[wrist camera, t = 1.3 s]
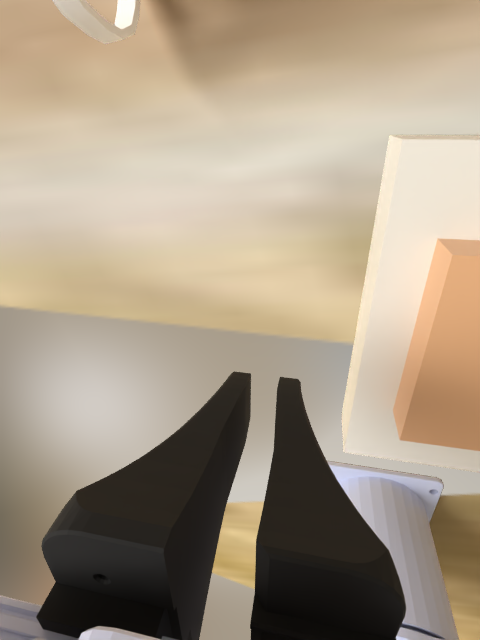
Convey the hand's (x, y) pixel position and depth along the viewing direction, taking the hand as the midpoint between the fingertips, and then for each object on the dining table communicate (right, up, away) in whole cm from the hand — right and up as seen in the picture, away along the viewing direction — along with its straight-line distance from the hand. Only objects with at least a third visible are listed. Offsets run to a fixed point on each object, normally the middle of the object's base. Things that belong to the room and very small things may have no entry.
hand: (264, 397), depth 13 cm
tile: (+10, +2, +3) cm, 10 cm away
